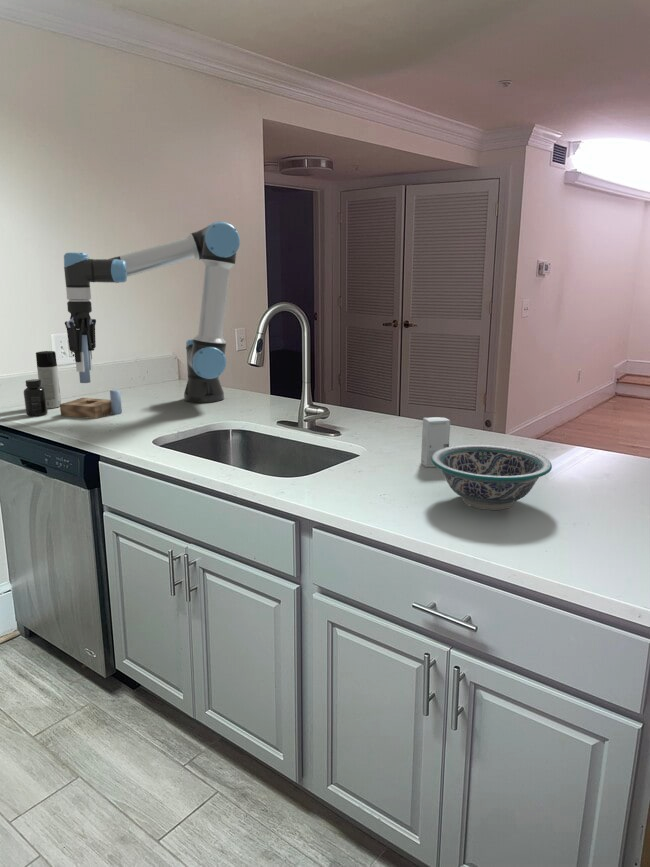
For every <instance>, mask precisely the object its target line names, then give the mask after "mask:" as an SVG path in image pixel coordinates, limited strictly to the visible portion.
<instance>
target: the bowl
mask: <svg viewBox="0 0 650 867" xmlns="http://www.w3.org/2000/svg"><path fill="white" fill-rule="evenodd" d="M431 461H432V463H433V464H434V465H435V466H436V467H437V468H438V469H440V470H441V471H442V473H443V476H444V478H445V480H446V483H447V484H448V486H449V487H450V489H451V490H452V491H453V492H454V493H455V494H456V495H458V496H460V497H461V498H462V502H463V503H464V504H466V505H467V506H469V507H472V508H475V509H480V510H486V511H489V510H490V511H501V510H506V509H510V508H511V507H512V506H513V505H514V502H517V501H519V500H522V499H523V498H524V497H526V496H527V495H528V494H529V493H530V492H531V490H532V489H533V487H534V485H536V482H537V481H538V480H539V478H541V477H543V476H545V475H548V474H549V473H550V472H551V471H552V468H553V465H552V463H551V461H550V460H549V459H548V458H546V457H545V456H543V455H541V454H538V453H536V452H534V451H530V450H527V449H522V448H517V447H513V446H506V445H505V446H504V445H498V444H497V445H496V444H482V443H481V444H477V443H475V444H459V445H453V446H452V445H451V446H449V447H447V448H443V449H440V450H438V451H436V452H435V453H434V454H433V455H432V457H431Z"/></svg>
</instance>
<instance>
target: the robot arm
mask: <svg viewBox="0 0 650 867" xmlns="http://www.w3.org/2000/svg"><path fill="white" fill-rule="evenodd" d="M187 236H188V237H187ZM187 236H186V237H184V238H183V237H182V238H180V239H177V240H173V241H170V242H169V241H168V242H166V243H162V244H158V245H155V246H150V247H147V248H143V249H140V250H136V251H132V252H130V253H126V254H123V255H119V256H114V257H111V258H108V259H107V258H105V259H104V258H103V259H102V258H101V259H95V258H89V256H88V253H87V252H65V253H64V255H63V269H64V280H65V290H66V299H67V303H66V305H67V306H66V307H67V312H68V313H70V318H69V320H68V321H64V325H65V328H66V333H67V342H68V349H69V351H70V352H71V353H74V362H75V365H76V367H75V368H76V372H78V373H79V372H85V367H84V355H83V352H81V350H82V335H87V342H88V355H89V368H90V371H92V370H93V363H92V360H93V354H92V351H93V352H94V350H95V349H96V346H97V345H96V343H97V342H96V325H97V324H96V322H97V320H96V319H95V318H91V315H90V313H92V312H93V310H92V302H91V299H92V293H91V283H115V284H119V283H125V282H127V279H128V278H129V277H132V276H135V275H139V274H142V273H146V272H151V271H153V270H156V269H161V268H164V267H168V266H171V265H174V264H179V263H182V262H185V261H190V260H193V259H195V260H196V261H197V260H198V261H199V260H201V262H203V264H204V265H205V266H204V277H203V286H202V294H201V305H200V312H199V313H200V315H199V323H198V325H199V326H198V333H197V335H196V336H194V337H193V339H192V338H191V339H187V341H186V344H185V350H186V366H187V367H186V368H187V382H186V386H185V388H184V392H183V393H184V394H183V397H184V398H183V400H184V401H185V402H189V403H201V404H202V403H213V402H214V403H215V402H219V401H223V400H224V399H225V392H224V389H223V386H222V383H221V381H220V379H219V378H220V376H221V375H223V373H224V372H225V369H226V367H227V357H226V347H227V341H226V340H225V339H224V337H223V336H224V327H225V319H226V318H225V317H226V311H227V310H226V308H227V300H228V299H227V298H228V291H229V281H230V271H231V269H232V268H233V267H235V266H236V260H237V252H238V250H239V249H240V244H241V237H240V234H239V231H238V230H237V228H236V227H235V226H233V224H230V223H228V222H225V221H215V222H212V223H211V224H209V225H207V226H206V227H204V228H202V229H200V230H196V231H195V232H191V233H189V235H187Z"/></svg>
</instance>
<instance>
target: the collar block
mask: <svg viewBox="0 0 650 867" xmlns="http://www.w3.org/2000/svg"><path fill="white" fill-rule="evenodd" d="M59 409H60V411H59V412H60V416H61V417H71V416H73V418H83V417H88V418H87V419H95V418H96V419H98V417H99V418H101V416H102V417H104V415H105V416H107V414H108V415H109V414H112V410H111V399H107V398H106V399H105V398H90V397H81V398H76V399H73V400H70V401H66V402H63V403H62V402H61V404H60V407H59Z"/></svg>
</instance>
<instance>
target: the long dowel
mask: <svg viewBox="0 0 650 867" xmlns="http://www.w3.org/2000/svg"><path fill="white" fill-rule="evenodd" d="M81 352H83V355H84V367H85V372H78V374H79V375H78V376H79V383H80V384H88V383H89V384H90V383H91V370H90V368H89V355H88V342H87V335H82V350H81Z"/></svg>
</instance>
